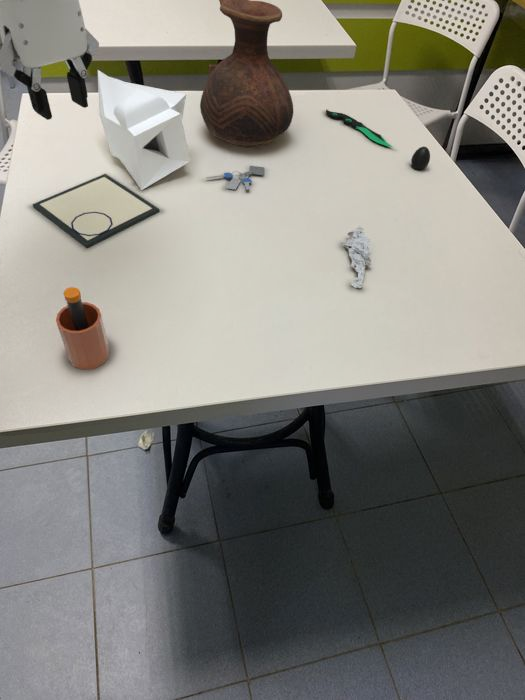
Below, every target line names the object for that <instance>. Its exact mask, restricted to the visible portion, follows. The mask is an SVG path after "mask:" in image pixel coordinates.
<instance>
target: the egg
mask: <svg viewBox="0 0 525 700" xmlns="http://www.w3.org/2000/svg"><path fill="white" fill-rule="evenodd" d="M410 160H411V161H410V163H411V164H410V165H411V166H412V168H413V169H414V170H418V171H422V170H425V168H427V166H428V165H429V164H430V160H431V151H430V149H429V148H428V147H427V146H421V147H418V148H417V149H416V150H415V151H414V152H413V154H412V157H411V159H410Z"/></svg>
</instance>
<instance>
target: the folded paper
mask: <svg viewBox="0 0 525 700" xmlns="http://www.w3.org/2000/svg"><path fill="white" fill-rule="evenodd" d="M97 90H98V93H97V94H98V115H99V118H100V122H101V125H102V128H103V131H104V135H105V138H106V141H107V144H108V148H109V151H110V155H111V156H113V157H115V158H116V159H119V160H120V162H121V163H122V165H123V166H124V168H125V169H126V170H127V171H128V173H129V175H130V176H131V177H132V179H133V180H134V182H135V184H137V186H138V188H139V189H140V191H143V190H144V189H146V188H148V187H149V186H151V185H153V184H154V183H156V182H158V181H160V180H162V179H163V178H165V177H166V176H168V175H169V174H172V173H173V172H175V171H176V170H178V169H180V168H181V167H183V166H185V165H187V164H188V163H190V162H191V161H192V160H191V156H190V152H189V147H188V142H187V137H186V132H185V127H184V124H183V119H184V118H183V117H184V111H185V105H186V99H187V98H186V97H187V93H183V92H179V91H173V90H167V89H163V88H157V87H153V86H148V85H142V84H137V83H132V82H129V81H128V82H127V81H124V80H121V79H119V78H115V77H112V76H108V75H107V74H105V73H104V72H102V71H100V70H99V69H97Z"/></svg>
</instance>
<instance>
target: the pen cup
mask: <svg viewBox="0 0 525 700" xmlns="http://www.w3.org/2000/svg"><path fill="white" fill-rule="evenodd" d="M82 305H83V308H84V312H85V316H86V320H87V323H88V327H89V328H87V329H84V330H80V331H75V328H74V324H73V321H72V318H71V314H70V311H69V308H68V304H67V305H66V306H63V307H62V308H61V309H60V310H59V311H58V312H57V313H56V317H55V323H56V326H57V329H58V331H59V335H60V337H61V340H62V343H63V346H64V350H65V352H66V355H67V358H68V361H69V363H70V364H71V365H72V366H73V367H74V368H76V369H79V370H83V371H84V370H85V371H87V370H94V369H97V368H100V367H101V366H102V365H104V364H105V363H106V362H107V360H108V359H109V357H110V345H109V341H108V337H107V333H106V328H105V324H104V321H103V316H102V313H101V310H100V308H99V307H98V306H97V305H95V304H93V303H90V302H88V301H87V302H86V301H82Z"/></svg>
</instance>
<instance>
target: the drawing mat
mask: <svg viewBox="0 0 525 700" xmlns="http://www.w3.org/2000/svg"><path fill="white" fill-rule="evenodd" d="M32 208H34V209H35V210H36V211H38V212H39V213H40V214H42V215H43V216H44V217H46V218H47V219H48V220H50V221H51V222H52V223H53V224H55V225H56V226H57V227H59V228H60V229H61V230H62V231H64V232H65V233H66V234H69V236H70V237H72V238H73V239H74V240H76V241H77V242H79V243H80V244H81V245H83V246H84V247H85V248H87V249H88V248H90V247H92V246H94V245H96V244H98V243H100V242H102V241H104V240H106V239H108V238H110V237H113V236H114V235H116V234H118V233H120V232H122V231H124V230H126V229H128V228H130V227H132V226H134V225H136V224H138V223H139V222H142V221H144V220H146V219H148V218H150V217H152V216H154V215H156V214H158V213H160V208H158V207H157V206H156V205H154V204H153V203H151V202H149V201H148V200H146V199H145V198H144V197H142V196H140V195H139V194H137V193H135V192H134V191H132V190H131V189H130V188H128V187H127V186H125V185H123V184H122V183H121V182H119V181H117V180H116V179H114V178H113V177H112V176H109V175H108V174H106V173H104V174H101V175H99V176H97V177H94V178H92V179H89V180H87V181H84V182H83V183H80V184H77V185H75V186H73V187H71V188H67V189H66V190H63V191H60V192H59V193H56V194H53V195H51V196H49V197H47V198H44V199H42V200H40V201H37V202H35V203H32Z"/></svg>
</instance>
